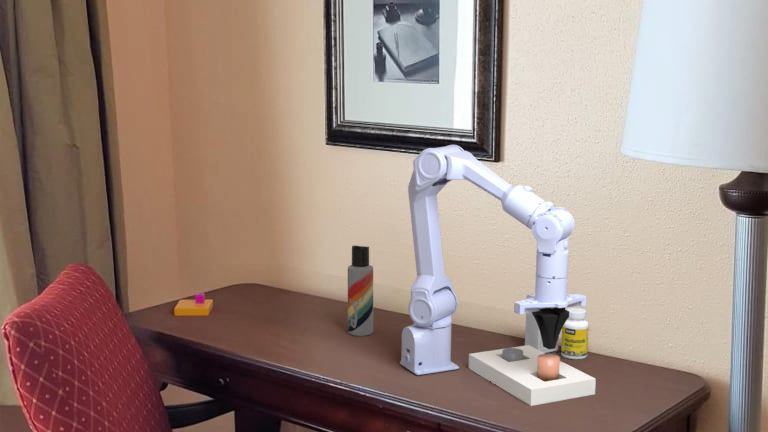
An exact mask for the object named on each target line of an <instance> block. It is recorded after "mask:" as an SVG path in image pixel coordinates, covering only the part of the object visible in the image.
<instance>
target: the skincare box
mask: <svg viewBox="0 0 768 432" xmlns="http://www.w3.org/2000/svg"><path fill="white" fill-rule="evenodd" d="M532 297H535V292H534V293H528V294H526V297H525V298H526V299H529V298H532ZM524 328H525V331H524V333H525V336H524V346H526V345H529V346H531V347H533V348H535V349H537V350H539V351H541V352H543V353H545V354H549V353H552V352H557V351H558V350H559V340H560V339H559V337H558V340H557V344H556V347H555V349H547V348H545V347H543V343H542V338H541V334H540V330H539V327H538V325H537V322H536V320H535V318H534V316H533V314H532V312H528V313H525V327H524Z"/></svg>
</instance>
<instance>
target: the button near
mask: <svg viewBox="0 0 768 432" xmlns="http://www.w3.org/2000/svg"><path fill="white" fill-rule="evenodd" d="M560 358H561V357H560V356H558V355H557V354H554V353H553V354H552V353H545V354H541V355H539V356H538V364H537V378H539V379H540V380H542V381H545V382H546V381H552V380H558V379H559V366H560V361H561V359H560Z"/></svg>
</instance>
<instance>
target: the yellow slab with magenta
mask: <svg viewBox="0 0 768 432" xmlns="http://www.w3.org/2000/svg"><path fill="white" fill-rule="evenodd" d="M194 297H195V298H194V299H180V300H179V301H178V302H177V304H176V305H175V307H174V309H173V310H174V311H173V312H174V314H173V315H174V316H175V317H176V316H181V317H182V316H209V315H210V314H211V311H212V309H213V307H214V301H213V299H206V293H205V292H202V293H199V292H197V293H195V296H194Z"/></svg>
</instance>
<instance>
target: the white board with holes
mask: <svg viewBox="0 0 768 432" xmlns="http://www.w3.org/2000/svg"><path fill="white" fill-rule="evenodd" d="M507 348H508V347H507ZM507 348H501V349H500V348H499V349H493V350H487V351H486V350H485V351H479V352H474V353H473V352H472V353H468V369H469V370H471V371H472V372H474V373H476V374H477V375H479V376H480V377H482V378H484V379H485V380H487V381H489V382H490V381H491V382H490V383H492V384H494V385H495V384H496V385H495V386H497V387H499V388H500V389H502V390H504V391H506V392H507V393H508V394H511V395H512V396H514V397H515V398H517V399H518V400H520V401H522V402H523V403H526V404H527V405H529V406H530V407H533V406H538V405H544V404H549V403H554V402H560V401H565V400H570V399H571V400H572V399H577V398H581V397H582V398H583V397H588V396H593V395H596V383H597V382H596V378H595V377H593V376H591V375H590V374H587V373H586V372H583V371H582V370H580V369H577V368H575V367H573V366H571V365H570V364H567V363H566V362H563V361H561V360H560V366H559V379H558V380H552V381H546V382H545V381H542V380H540V379H539V378H537V364H538V356H539V355H541V354H546V353H543V352H541V351H539V350H537V349H535V348H533V347H531V346H529V345H526V346H525V345H521V346H515V347H513V346H511V348H517V349H520V350H522V351H523V360H519V361H513V362H508V361H506V360H504V359H502V356H503V350H504V349H507Z"/></svg>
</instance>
